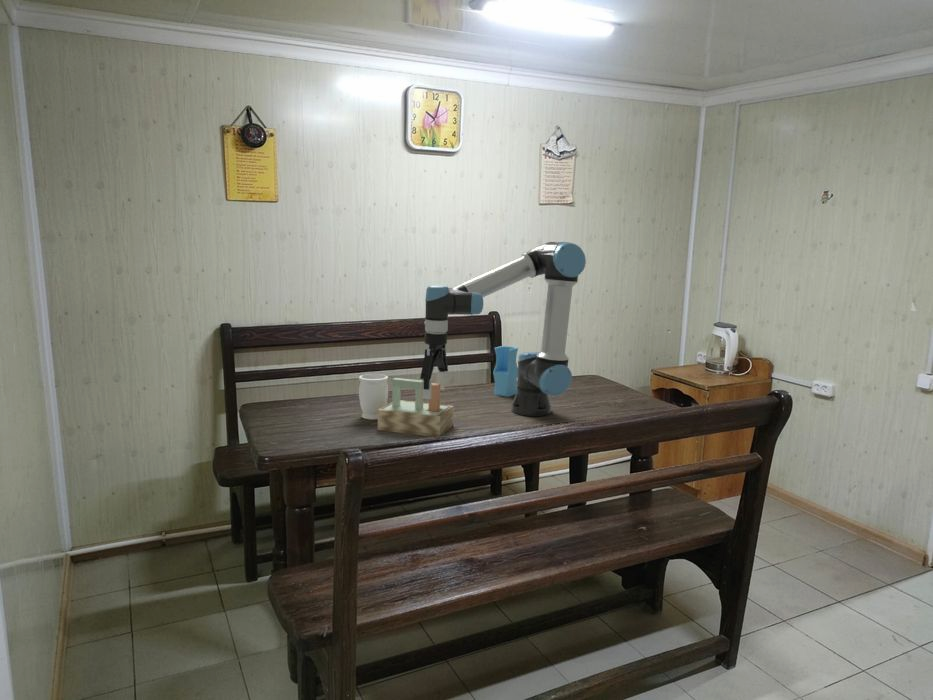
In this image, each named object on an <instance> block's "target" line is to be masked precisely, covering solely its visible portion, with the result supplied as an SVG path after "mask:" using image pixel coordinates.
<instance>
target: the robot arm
mask: <svg viewBox="0 0 933 700" xmlns="http://www.w3.org/2000/svg"><path fill="white" fill-rule="evenodd" d="M586 263H587V261H586V255H585V252H584V251H583V249H582V248H581V247H580V246H579V245H578V244H575V243H573V242H568V241H548V242H545V243H543V244H540V245H538V246H536V247H534V248H532V249H530V250H528V251H526V252H522V254H521V256H520V257H519V258H517V259H515V260H512V261H511V262H508V263H506V264H503V265H501V266H499V267H497V268H495V269H492V270H490V271H488V272H485V273H483V274H481V275H479V276H476V277H475V278H472V279H471V280H470V279H469V280H468V281H466V282H464V283H461V284H459V285H457V286H455V287H448V286H447V285H429V286H427V288H426V293H425V300H424V301H425V319H424V322H423V324H424V330H425V333H424V344H425V345H428V348H425V349H424V357H423V362H422V368H421V372H420V379H419V380H422V381H423V400H424V399H425V400H429V399H431V386H432V383H433V382H432V375H433V372H434V368H435V364H436V366H437V370H438V371H436V373H437V374H436V383H439V384H440V391H445V390H446V389H445V388H446V387H445V386H446V372H448V371H449V368H448V367H449V366H448V365H449V364H448V358H447V352H446V345H447V343H448V333H447V332H448V331H449V330H448V327H449V325H448V323H449V315H463V316H464V315H465V316H467V315H470V316H473V315H480V314H481V313H482V312H483V309H484V298H485V297H487V296H489V295H491V294H494V293H497V292H499V291H500V290H503V289H505V288H507V287H509V286H511V285H514V284H516V283H518V282H520V281H523V280H525V279H528V278H530V279H531V278H532V279H533V278H536V277H537V276H543V275H544V281H545V282H546V283H547V293H546V304H545V309H544V311H545V312H544V319H543V321H544V322H543V329H542V330H543V331H542V338H541V339H542V340H541V350H540V351H539V352H538V351H531V352H530V351H529V352H521V353H520V354H519V355H518V360H517V367H518V377H517V382H516V388H517V392H516V394H515V395H514V398H513V400H512V402H511V411H512V412H513V414H518V415H521V416H527V417H545V416H548V415H550V414H551V412H552V405H551V401H550V397H549V396H560V395H562V394H564V393H565V392H566V391H567V390H569V388H570V386H571V384H572V381H573V374H572V371H571V370H570V368H569V367H568V366H569V359H570V358H569V357H568V356H567V354H566V348H567V347H566V346H567V337H568V331H569V320H570V311H571V303H572V296H573V287H574V286H575V285H577V284H578V282H579V280H578V279H579V275H581V273H582V272H583V271H584V269H585V267H586Z"/></svg>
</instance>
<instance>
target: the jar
mask: <svg viewBox="0 0 933 700" xmlns="http://www.w3.org/2000/svg"><path fill="white" fill-rule="evenodd" d="M358 380H359V381H360V383H359V386H358V399H359V404H360V408H361V412H362V414H361V418H363V419H365V420H372V421H373V420H375V421H376V420H378V409H380V408H382V407H383V406H385V405H387V404H388V399H389V386H388V380H389V376H388V375H386V374H380V373H378V374H377V373H366V374H361V375H359V376H358Z"/></svg>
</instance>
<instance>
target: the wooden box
mask: <svg viewBox="0 0 933 700" xmlns="http://www.w3.org/2000/svg"><path fill="white" fill-rule="evenodd" d="M400 401H405V402H414V403H415V400H414V401H413V400H403V399H400ZM391 404H392V401H390V402H389V403H387V405H385V406H383V407H382V408H380V409H378V419H377V430H378V431H385V432H393V433H401V434H409V435H415V436H416V435H418V436H424V437H430V438H431V437H433V438H440V437H441V436H443V434H445V433H446V432H447V431H449V429H450V428H452V427H453V426H454V408H455V407H454V405H449V404H448V405H447V404H440V406H449V408H447V409H446V410H445V411H443V412H442V413H441V414H439V415H438V416H434V415H425V414H417V413H409V412H400V411H392V410H383V409H384V408H386V407H388V406H389V405H391ZM423 404H429V402H423Z"/></svg>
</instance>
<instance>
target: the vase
mask: <svg viewBox="0 0 933 700" xmlns="http://www.w3.org/2000/svg"><path fill="white" fill-rule="evenodd" d="M494 352H495V358H496V359H495V360H496V361H495V365H494V369H493V372H492V374H493V379H494V390H493V395H496V396H499V397H501V396H502V397H506V398H507V397H508V398H509V397H512V396H515V395H516V392H517V380H518V362H517V357H518V356H517V355H518V352H519V347H516V346H508V345H500V346H497V347H494Z"/></svg>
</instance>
